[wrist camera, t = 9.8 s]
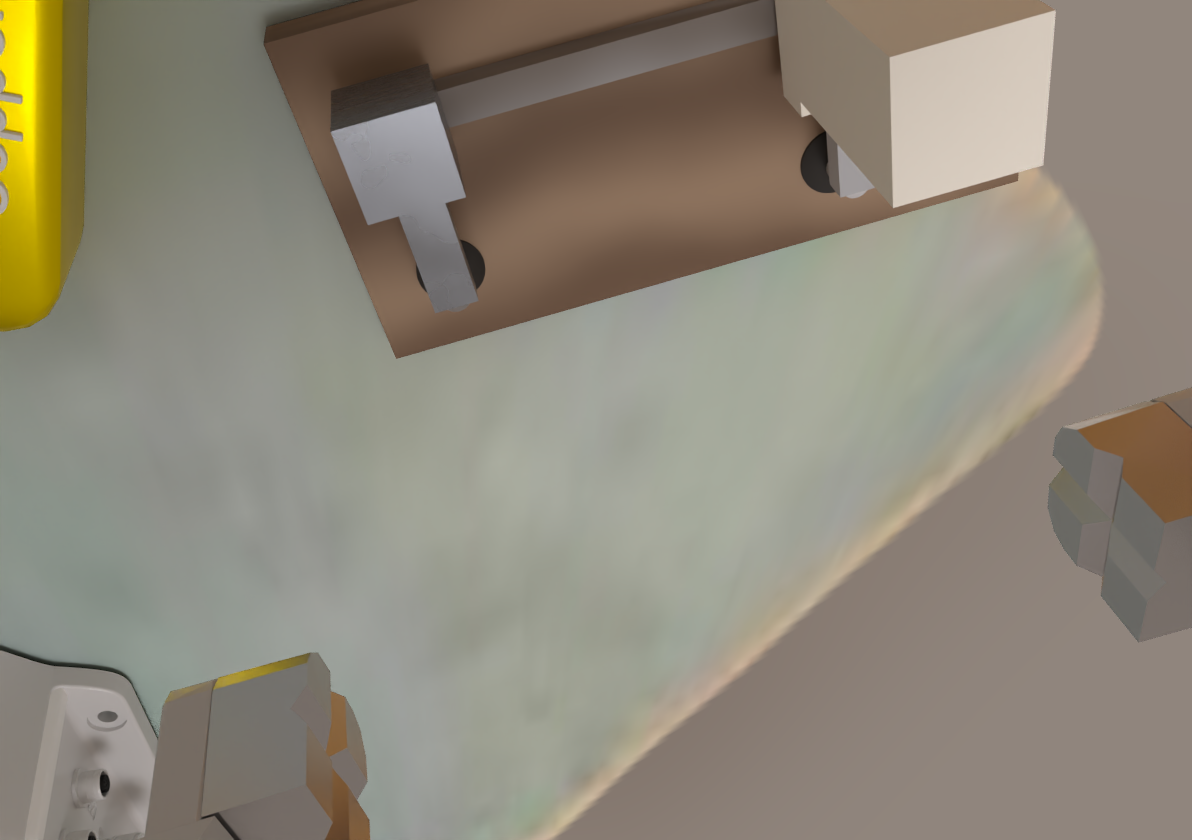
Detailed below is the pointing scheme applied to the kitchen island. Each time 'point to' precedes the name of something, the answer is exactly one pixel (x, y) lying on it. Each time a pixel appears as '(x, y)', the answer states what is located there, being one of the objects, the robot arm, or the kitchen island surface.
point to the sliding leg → (920, 89)
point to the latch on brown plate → (576, 147)
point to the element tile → (40, 152)
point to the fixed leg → (407, 173)
